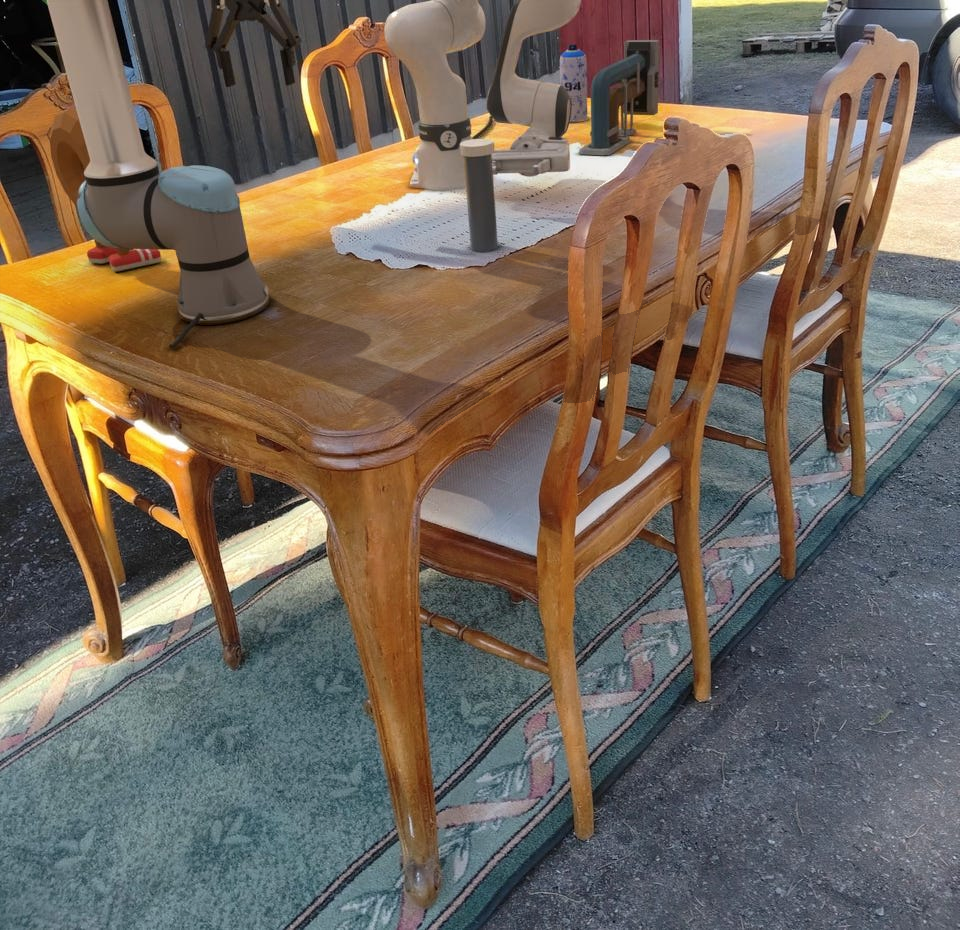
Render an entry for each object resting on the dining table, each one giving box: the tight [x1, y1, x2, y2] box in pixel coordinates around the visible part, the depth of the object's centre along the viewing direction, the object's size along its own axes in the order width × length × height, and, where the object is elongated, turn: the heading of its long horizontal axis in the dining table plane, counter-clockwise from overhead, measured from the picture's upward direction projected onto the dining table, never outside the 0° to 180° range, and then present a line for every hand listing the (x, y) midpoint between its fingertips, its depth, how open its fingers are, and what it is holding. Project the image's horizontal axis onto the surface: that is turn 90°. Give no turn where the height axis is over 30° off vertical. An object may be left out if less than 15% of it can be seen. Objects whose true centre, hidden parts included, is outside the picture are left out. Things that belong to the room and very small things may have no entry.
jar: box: [463, 154, 499, 253], centre depth 180 cm, size 5×5×19 cm
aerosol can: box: [559, 43, 589, 123], centre depth 273 cm, size 8×8×20 cm
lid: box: [460, 138, 495, 157], centre depth 175 cm, size 6×6×2 cm
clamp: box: [578, 39, 660, 156], centre depth 247 cm, size 35×9×21 cm, turn 151°
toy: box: [49, 104, 163, 272], centre depth 186 cm, size 21×10×30 cm, turn 47°
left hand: (260, 85), depth 196 cm, fingers open, 13 cm apart
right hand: (514, 170), depth 199 cm, fingers open, 8 cm apart
